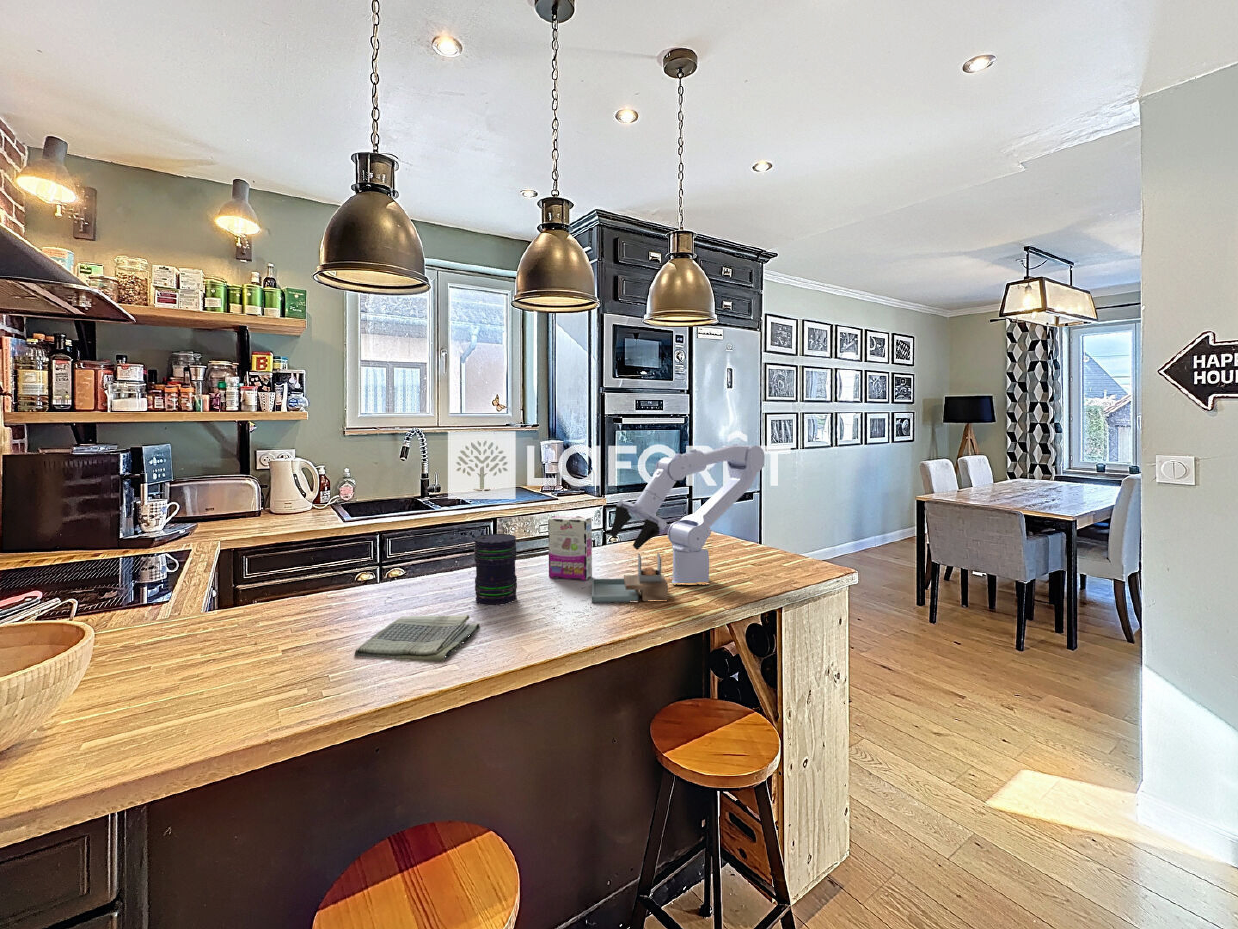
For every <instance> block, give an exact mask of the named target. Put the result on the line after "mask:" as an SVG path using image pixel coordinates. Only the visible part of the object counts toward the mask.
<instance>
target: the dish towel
mask: <svg viewBox="0 0 1238 929" xmlns="http://www.w3.org/2000/svg"><path fill="white" fill-rule="evenodd" d="M469 620H470V615H469V614H461V615H420V616H419V615H414V616H413V615H411V616H410V615H409V616H405V615H404V616H402V617H400V618H398V619H396V620H394V621H393V622H391V623H390V624H389V625H387V626H385V628H383V629H381V630H380V631H378V632H377V633H376V634H374V635H373V636H372V637H371V638H369V639H368V640H366V641H365V642H364V643H362V644H361V645H360V646H359V647H358V648H356V649H355V651H354V656H355V657H365V658H366V657H367V658H380V659H393V660H404V659H410V660H409V661H419V660H424V661H423V662H442V661H443V662H445V661H446V658H445V656H449V657H450V656H451V655H452V653H453V652H454V651H455V650H456V651H457V650H458V649H460V648H461V647H460V645H463V644H465V643H467V641H469V640H470V639H471V638H472V637H473V636H472V634H473V633H476V632H475V631H477V630H480V629H481V627H480V623H479V622H474V623H470V624H468V623H467V622H468V621H469ZM479 628H480V629H479ZM472 632H473V633H472ZM469 635H470V636H469ZM468 636H469V637H468ZM469 638H470V639H469ZM468 639H469V640H468ZM462 642H464V643H462ZM459 647H460V648H459ZM456 651H455V652H456ZM455 652H454V653H455ZM454 653H453V654H454ZM444 658H445V659H444Z"/></svg>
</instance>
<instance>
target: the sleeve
mask: <svg viewBox="0 0 1238 929" xmlns="http://www.w3.org/2000/svg"><path fill="white" fill-rule="evenodd" d="M656 554H657V555H656V556H657V557H656V559H657V562H656V566H657V567H656V569H654V570H655V571H656V575H643V571H644V569H642V557H641V554H640V553H637V575H638V579H639V583H661V575H662V557H661V555H660V553H656Z"/></svg>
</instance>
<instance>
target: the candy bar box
mask: <svg viewBox="0 0 1238 929" xmlns="http://www.w3.org/2000/svg"><path fill="white" fill-rule="evenodd" d="M547 526H548V527H547V531H548V538H547V539H548V542H547V543H548V578H549V579H563V580H574V581H575V580H576V581H588V580H589V579H590V578H592V577H593V555H592V553H593V550H592V549H593V548H592V547H593V546H592V543H593V542H592V541H593V540H592V536H593V535H592V531H593V530H592V517H580V516H579V517H577V516H576V517H573V516H553V517H550V518H548V520H547Z"/></svg>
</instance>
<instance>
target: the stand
mask: <svg viewBox="0 0 1238 929" xmlns="http://www.w3.org/2000/svg"><path fill="white" fill-rule="evenodd" d="M623 579H624V583H625V588H626V590H637V591H639V594H640V593H641V594H640V597H641V596H642V598H641V601H642V600H643V601H648V600H668V601H669V584H668V582H667V580H666V578H665V576H664V574H661V583H639V579H638V574H635V575H634V574H630V575H629V574H628V575H625V574H624V575H623Z"/></svg>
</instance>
